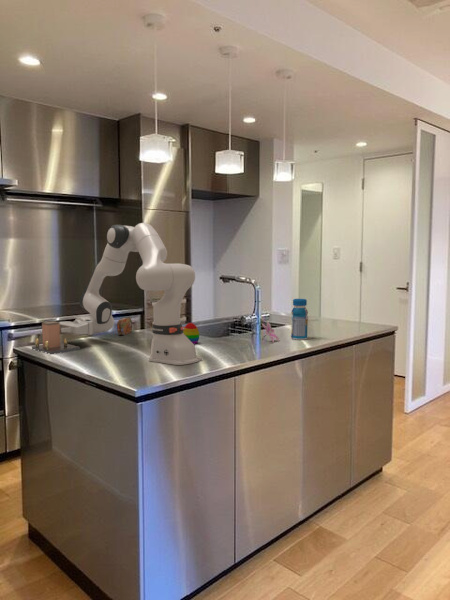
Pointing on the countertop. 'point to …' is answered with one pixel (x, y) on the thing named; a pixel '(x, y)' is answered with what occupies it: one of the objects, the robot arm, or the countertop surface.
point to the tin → (124, 326)
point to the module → (51, 333)
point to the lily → (270, 332)
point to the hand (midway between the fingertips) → (55, 329)
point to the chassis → (62, 348)
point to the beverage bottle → (299, 319)
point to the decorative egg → (191, 332)
